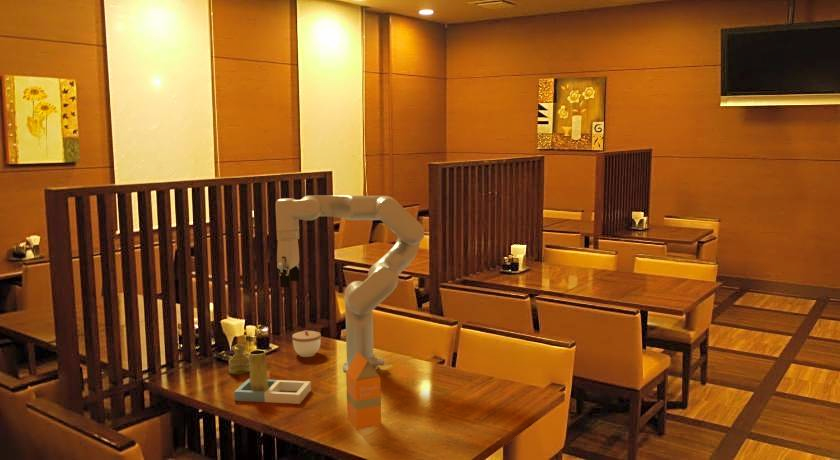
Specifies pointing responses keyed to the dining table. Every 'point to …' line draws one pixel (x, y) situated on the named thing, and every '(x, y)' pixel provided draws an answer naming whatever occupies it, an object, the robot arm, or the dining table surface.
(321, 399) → the dining table surface
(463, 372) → the dining table surface
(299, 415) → the dining table surface
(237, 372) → the olive bulbous piece
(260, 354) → the vase
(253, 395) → the pocket rack
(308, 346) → the lidded jar
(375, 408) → the orange juice
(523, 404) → the dining table surface
